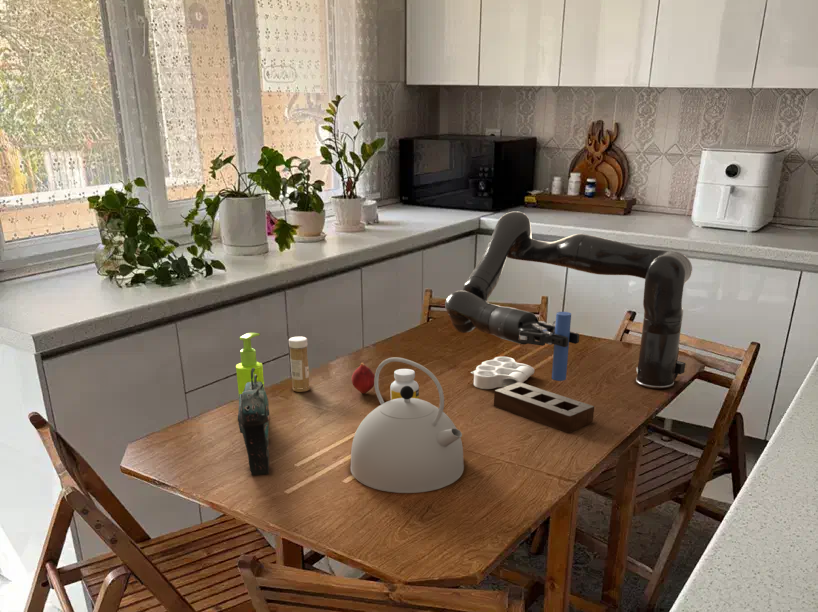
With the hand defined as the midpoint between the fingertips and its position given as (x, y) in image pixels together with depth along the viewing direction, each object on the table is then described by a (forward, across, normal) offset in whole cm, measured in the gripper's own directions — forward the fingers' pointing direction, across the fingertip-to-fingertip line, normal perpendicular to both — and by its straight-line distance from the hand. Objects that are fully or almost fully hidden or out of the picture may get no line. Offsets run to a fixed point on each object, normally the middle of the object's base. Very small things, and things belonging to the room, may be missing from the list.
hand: (572, 340), depth 170 cm
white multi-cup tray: (-30, +11, +20) cm, 37 cm away
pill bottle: (-26, -26, +20) cm, 42 cm away
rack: (-7, 0, +19) cm, 20 cm away
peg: (-3, 0, +10) cm, 10 cm away
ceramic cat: (-31, -62, +20) cm, 72 cm away
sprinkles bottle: (-59, -32, +20) cm, 70 cm away
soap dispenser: (-50, -51, +20) cm, 74 cm away
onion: (-46, -22, +20) cm, 55 cm away
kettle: (-6, -42, +20) cm, 47 cm away
